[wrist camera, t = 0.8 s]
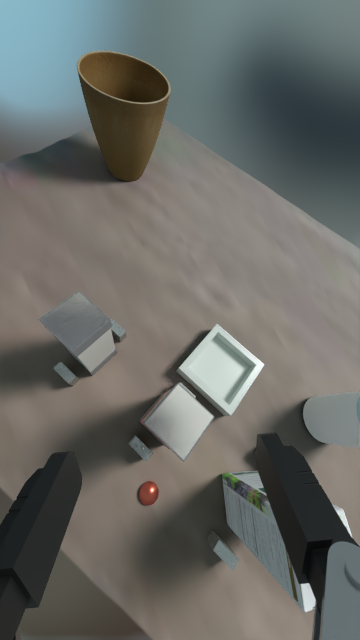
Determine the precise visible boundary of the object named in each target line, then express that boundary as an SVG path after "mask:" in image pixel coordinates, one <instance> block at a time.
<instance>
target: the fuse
mask: <svg viewBox="0 0 360 640" xmlns="http://www.w3.org/2000/svg"><path fill="white" fill-rule="evenodd" d="M39 321H40V322H41V323H42V324H43V325H44V326H45V327H46V328H47V329H48V330H49V331H50V332H51V333H52V334H53V335H54V336H55V337H56V338H57V339H58V340H59V341H60V342H61V343H62V344H63V345H64V346H65V347H66V348H67V349H68V350H67V351H68V352H69V353H70V354H71V355H72V356H73V357H74V358H75V359H76V360H77V361H78V362H79V363H80V364H81V365H82V366H83V367H84V368H85V369H86V370H87V371H88V372H89V373H90V374H91V375H94V374H95V373H96V372H97V371H98V370H99V369H100V368H101V367H102V366H103V365H104V364H106V363H107V362H108V361H109V360H110V359H111V358H112V357H113V356H114V355H115V354H116V353H117V350H116V349H115V346H114V341H113V336H112V331H111V327H112V325H111V320H110V319H109V318H108V317H107V316H106V315H105V314H104V313H103V312H102V311H100V310H99V309H98V308H97V307H96V306H95V305H94V304H93V303H92V302H91V301H90V300H89V299H87V298H86V297H85V296H84V295H83V294H82V293H81V292H80V291H77V292H76V293H75V294H73V295H72V296H70V297H69V298H68V299H66V300H65V301H63V302H62V303H61V304H59V305H58V306H56V307H55V308H54V309H52V310H51V311H49V312H48V313H47V314H45V315H44V316H42V317H41V318H40V319H39Z"/></svg>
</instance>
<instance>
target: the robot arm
mask: <svg viewBox="0 0 360 640" xmlns="http://www.w3.org/2000/svg"><path fill="white" fill-rule="evenodd" d="M256 464H257V469H258V473H259V476H260V479H261V482H262V484H263V487H264V490H265V493H266V495H267V498H268V501H269V504H270V506H271V509H272V512H273V514H274V517H275V520H276V523H277V525H278V528H279V531H280V534H281V536H282V539H283V542H284V545H285V547H286V550H287V553H288V556H289V558H290V561H291V564H292V566H293V569H294V572H295V575H296V577H297V580H298V583H299V584H306V583H309V584H310V587H311V589H312V592H313V594H314V597H315V599H316V601H315V611H314V621H313V632H312V640H360V546H359V545H358V544H357V543H356V542H355V541H354V539H353V538H352V537H351V535H350V534H349V532H348V530H347V529H346V527H345V525H344V524H343V522H342V520H341V519H340V517H339V515H338V514H337V512H336V510H335V509H334V507H333V505H332V504H331V502H330V500H329V499H328V497H327V495H326V494H325V492H324V490H323V489H322V487H321V485H319V482H318V480H317V479H316V477H315V475H314V473H312V470H311V468H310V467H309V465H308V463H307V462H306V460H305V458H304V457H303V456H302V455H301V454H300V453H299V452H298V451H297V450H296V449H295V448H294V447H293V446H283V444H282V442H281V440H280V439H279V437H278V435H277V434H276V433H267V434H258V435H257V447H256ZM81 485H82V475H81V472H80V469H79V466H78V463H77V460H76V457H75V455H74V452H72V451H68V452H57V453H53V454H52V455H51V456H50V458H49V459H48V461H47V463H46V465H45V467H44V468H41V469H38V470H37V471H36V472H35V473H34V474H33V475H32V476H31V477H30V478H29V479H28V480H27V481H26V483H25V484H24V486H23V488H22V489H21V491H20V493H19V494H18V496H17V499H16V500H15V501H14V503H13V504H12V506H11V508H10V510H9V513H8V514H7V515H6V516H5V518H4V520H3V521H2V523H1V525H0V640H21V637H20V636H21V635H20V627H19V624H20V621H21V618H22V616H23V613H24V611H25V609H26V608H36V607H39V604H40V602H41V599H42V596H43V593H44V590H45V588H46V585H47V582H48V579H49V577H50V574H51V571H52V568H53V566H54V563H55V560H56V557H57V554H58V552H59V549H60V546H61V543H62V540H63V538H64V535H65V532H66V529H67V526H68V524H69V521H70V518H71V515H72V513H73V510H74V507H75V504H76V501H77V499H78V496H79V493H80V490H81Z"/></svg>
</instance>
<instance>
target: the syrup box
mask: <svg viewBox="0 0 360 640" xmlns="http://www.w3.org/2000/svg"><path fill="white" fill-rule="evenodd" d="M222 479H223V489H224V499H225V508H226V518H227V525H228V526H229V527H230V528H231V530H232V531H233V532H234V533H235V534H236V535H237V536H238V537H239V539H240V540H241V541H242V542H243V543H244V544H245V545H246V546H247V548H248V549H249V550H250V551H251V552H252V553H253V554H254V556H255V557H256V558H257V559H258V560H259V561H260V562H261V563H262V564H263V566H264V567H265V568H266V569H267V570H268V571H269V572H270V574H271V575H272V576H273V577H274V578H275V579H276V580H277V581H278V583H279V584H280V585H281V586H282V587H283V588H284V589H285V591H286V592H287V593H288V594H289V595H290V596H291V597H292V598H293V600H294V601H295V602H296V603H297V604H298V605H299V606H300V608H301V609H302V610H303V611H305V612H308V611H311V610H312V609H314V608H315V601H316V599H315V597H314V594H313V592H312V589H311V587H310V584H309V583H306V584H299V583H298V580H297V577H296V575H295V572H294V569H293V566H292V564H291V561H290V558H289V556H288V553H287V550H286V547H285V545H284V542H283V539H282V536H281V534H280V531H279V528H278V525H277V523H276V520H275V517H274V514H273V512H272V509H271V506H270V504H269V501H268V498H267V495H266V493H265V490H264V487H263V484H262V482H261V479H260V476H259V473H258V471H244V472H234V473H225V474H222ZM333 507H334V509H335V510H336V512H337V514H338V515H339V517H340V519H341V520H342V522H343V524H344V525H345V527H346V529H347V530H348V532H349V534H350V535H351V532H350V529H349V525H348V522H347V519H346V516H345V513H344V511H343V509H341V508H339V507H337V506H335V505H333ZM351 537H352V535H351Z"/></svg>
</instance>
